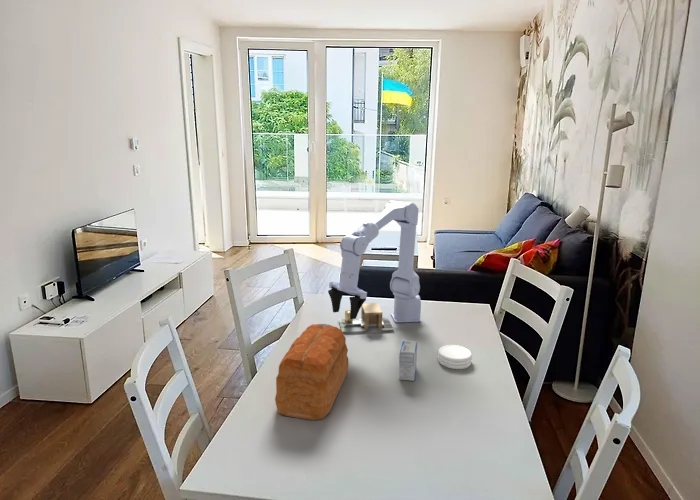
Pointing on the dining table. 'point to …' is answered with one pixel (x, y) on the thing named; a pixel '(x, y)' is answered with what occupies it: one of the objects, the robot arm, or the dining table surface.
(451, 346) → the coaster
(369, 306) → the track
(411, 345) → the medicine box
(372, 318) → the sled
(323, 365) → the bread
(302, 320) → the dining table surface
